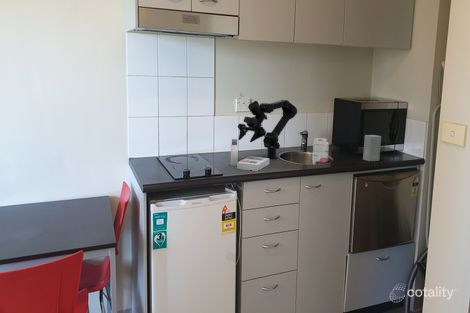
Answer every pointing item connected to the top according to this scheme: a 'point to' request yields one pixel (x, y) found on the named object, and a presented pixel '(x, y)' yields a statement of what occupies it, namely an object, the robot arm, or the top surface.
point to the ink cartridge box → (320, 150)
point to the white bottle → (234, 152)
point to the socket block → (253, 163)
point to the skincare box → (372, 148)
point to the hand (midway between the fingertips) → (244, 140)
